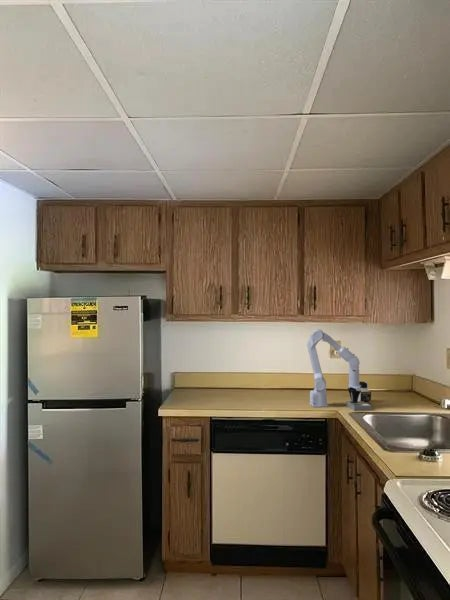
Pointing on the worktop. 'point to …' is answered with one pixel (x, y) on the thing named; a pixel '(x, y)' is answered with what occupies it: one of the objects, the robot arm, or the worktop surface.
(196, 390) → the worktop surface
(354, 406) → the socket block
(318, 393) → the robot arm
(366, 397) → the medicine bottle
